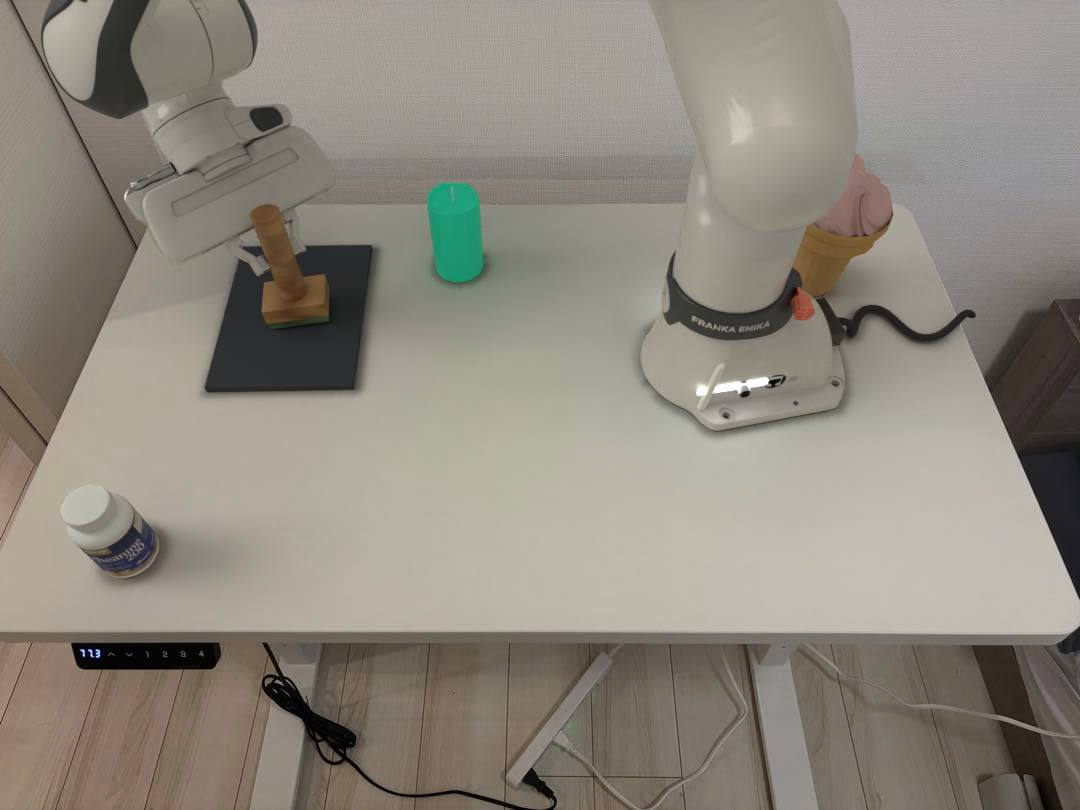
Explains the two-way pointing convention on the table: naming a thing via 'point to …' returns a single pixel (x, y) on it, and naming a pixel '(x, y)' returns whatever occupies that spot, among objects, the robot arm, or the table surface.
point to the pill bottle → (109, 531)
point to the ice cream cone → (844, 231)
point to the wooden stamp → (287, 276)
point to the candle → (456, 231)
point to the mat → (293, 328)
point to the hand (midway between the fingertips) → (282, 263)
